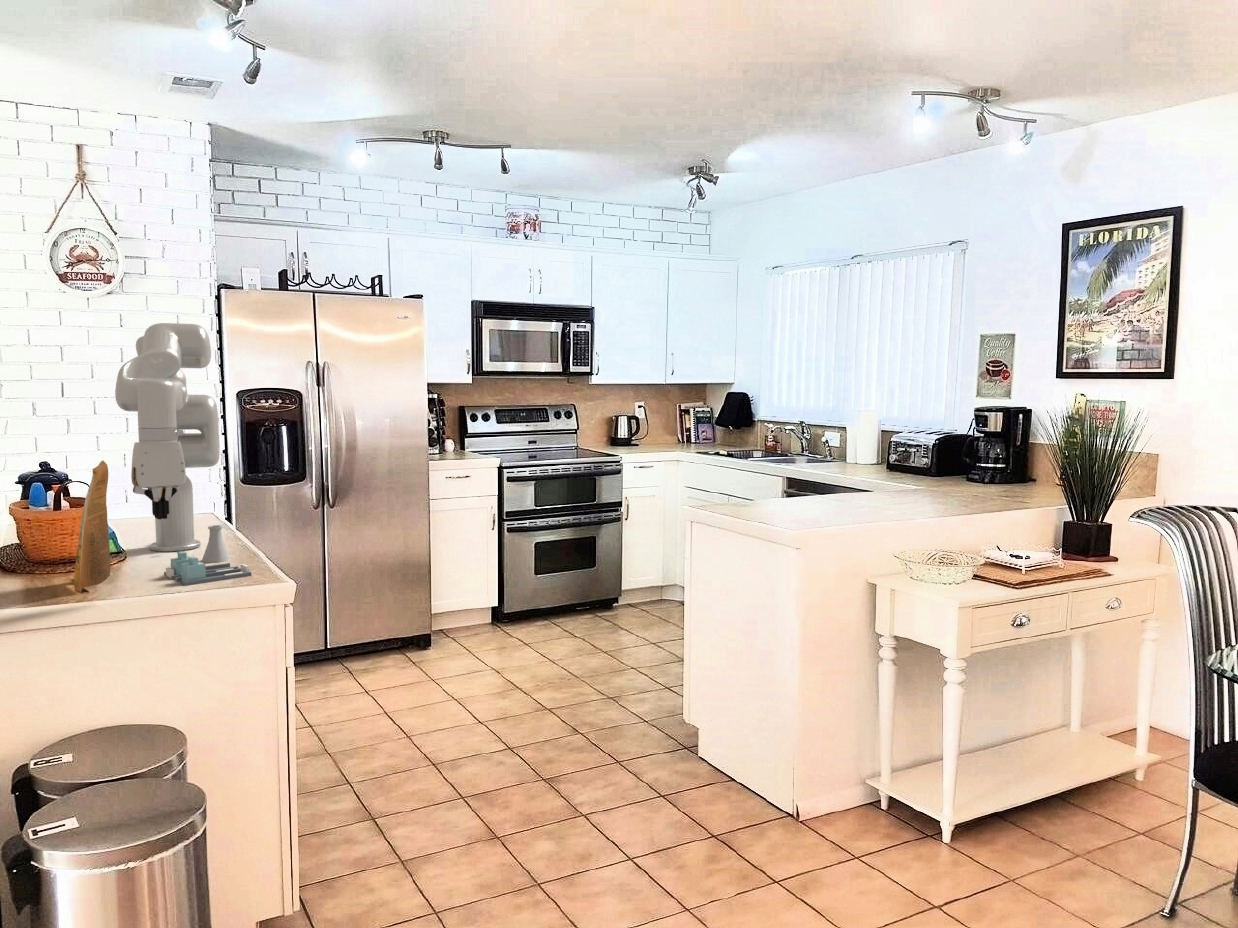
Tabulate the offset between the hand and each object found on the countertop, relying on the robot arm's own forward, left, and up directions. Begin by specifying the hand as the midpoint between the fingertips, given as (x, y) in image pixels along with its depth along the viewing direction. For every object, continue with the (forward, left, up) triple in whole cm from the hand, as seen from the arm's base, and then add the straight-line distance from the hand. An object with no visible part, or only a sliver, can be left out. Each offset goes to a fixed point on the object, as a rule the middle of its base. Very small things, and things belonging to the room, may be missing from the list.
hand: (161, 518), depth 198 cm
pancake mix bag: (-16, -9, -17) cm, 25 cm away
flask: (-20, +19, -17) cm, 32 cm away
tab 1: (-8, +7, -15) cm, 18 cm away
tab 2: (0, +7, -15) cm, 17 cm away
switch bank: (-4, +11, -17) cm, 20 cm away
